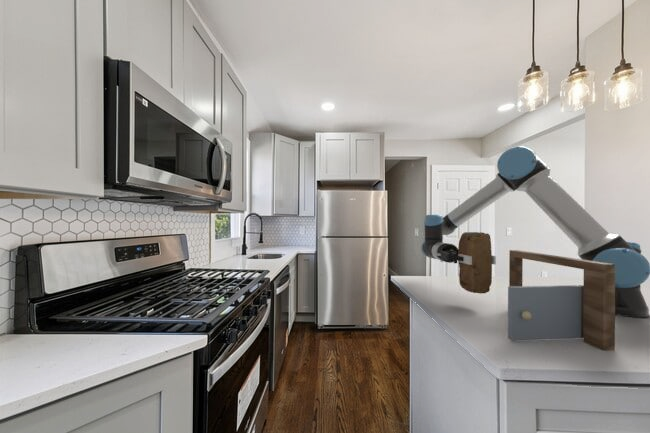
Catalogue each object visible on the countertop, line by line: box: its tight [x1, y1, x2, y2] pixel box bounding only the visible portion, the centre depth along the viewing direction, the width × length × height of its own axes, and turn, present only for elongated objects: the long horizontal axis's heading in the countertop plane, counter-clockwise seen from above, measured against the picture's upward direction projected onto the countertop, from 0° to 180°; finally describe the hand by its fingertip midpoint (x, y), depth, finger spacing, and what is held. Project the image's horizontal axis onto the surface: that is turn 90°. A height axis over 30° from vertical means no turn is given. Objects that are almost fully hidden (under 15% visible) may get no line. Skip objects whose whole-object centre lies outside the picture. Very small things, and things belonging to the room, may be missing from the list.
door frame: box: [508, 249, 616, 351], centre depth 78 cm, size 3×28×20 cm, turn 6°
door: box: [507, 284, 584, 342], centre depth 68 cm, size 21×3×13 cm, turn 96°
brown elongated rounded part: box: [457, 231, 493, 294], centre depth 95 cm, size 11×8×20 cm
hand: (482, 260), depth 90 cm, fingers closed on brown elongated rounded part, 8 cm apart
